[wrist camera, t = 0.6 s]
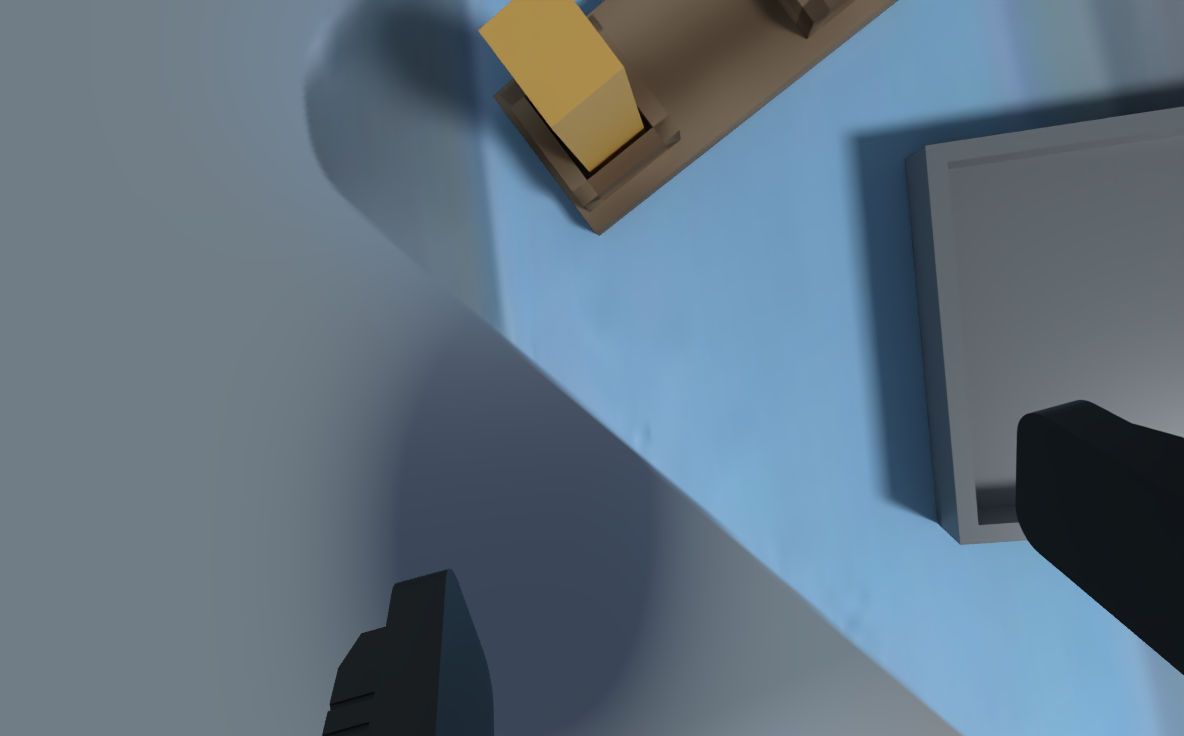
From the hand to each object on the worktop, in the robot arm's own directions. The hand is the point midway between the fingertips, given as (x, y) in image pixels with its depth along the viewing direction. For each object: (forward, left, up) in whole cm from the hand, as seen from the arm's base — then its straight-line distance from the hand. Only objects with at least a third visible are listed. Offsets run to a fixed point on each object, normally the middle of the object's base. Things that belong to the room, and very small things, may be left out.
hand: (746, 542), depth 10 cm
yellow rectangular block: (-12, -4, -24) cm, 27 cm away
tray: (0, +18, -25) cm, 31 cm away
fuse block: (-15, +1, -25) cm, 30 cm away
